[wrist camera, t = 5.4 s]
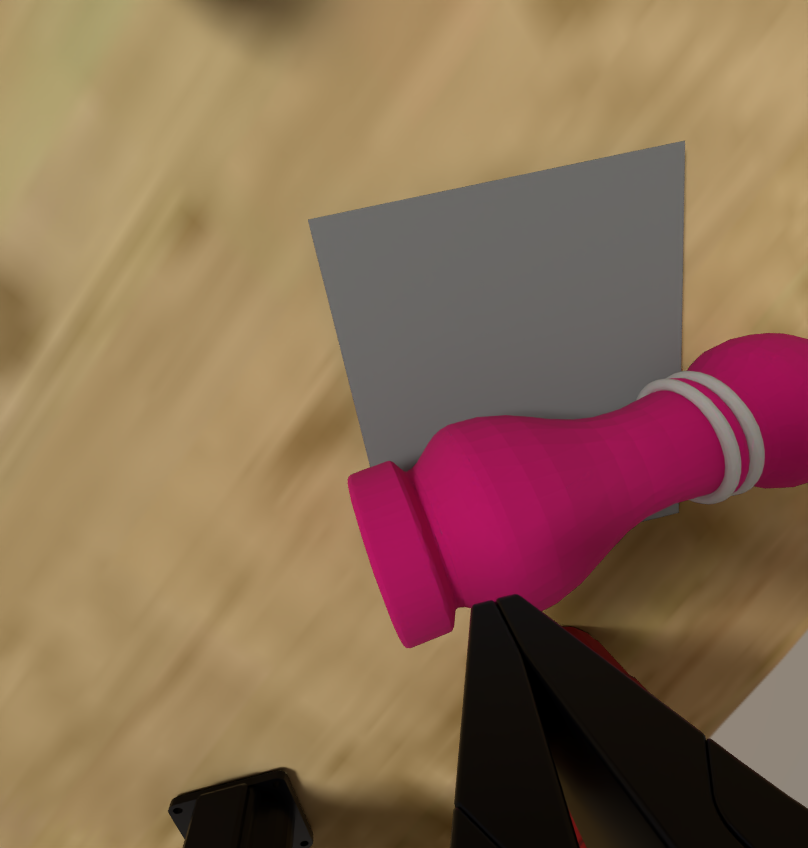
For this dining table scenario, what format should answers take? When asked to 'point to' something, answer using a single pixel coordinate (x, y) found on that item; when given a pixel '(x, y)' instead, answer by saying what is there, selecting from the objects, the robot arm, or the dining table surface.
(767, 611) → the dining table surface
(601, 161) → the mat
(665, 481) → the pepper mill
